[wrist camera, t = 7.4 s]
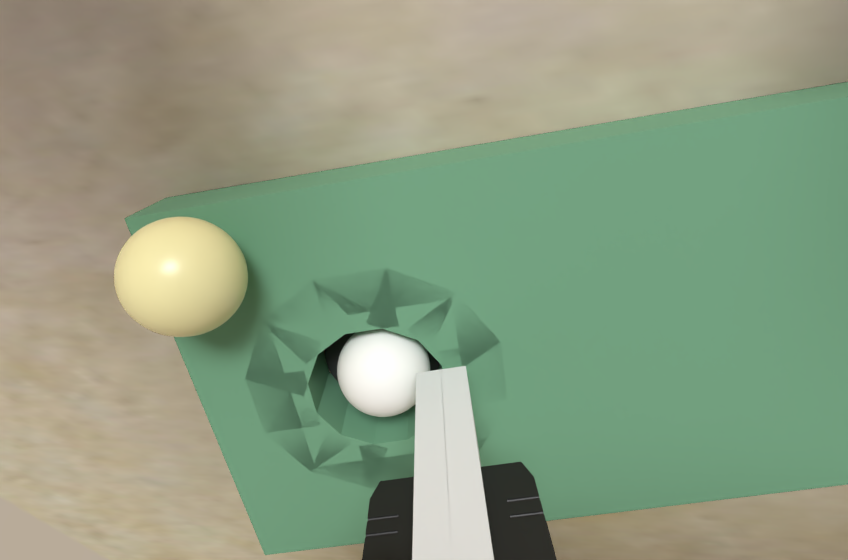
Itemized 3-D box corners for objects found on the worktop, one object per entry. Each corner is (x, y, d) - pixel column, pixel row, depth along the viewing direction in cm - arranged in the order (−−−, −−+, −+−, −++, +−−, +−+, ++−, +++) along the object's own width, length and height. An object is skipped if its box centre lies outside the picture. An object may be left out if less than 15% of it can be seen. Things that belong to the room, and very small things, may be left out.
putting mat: (918, 69, 15) (1009, 69, 13) (843, 432, 20) (896, 478, 18) (166, 197, 16) (124, 218, 14) (281, 503, 22) (265, 554, 20)
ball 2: (426, 311, 18) (358, 345, 19) (382, 303, 16) (306, 343, 17) (457, 393, 17) (384, 423, 19) (418, 400, 15) (334, 437, 16)
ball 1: (136, 212, 14) (61, 250, 11) (243, 195, 14) (195, 227, 11) (176, 311, 15) (118, 368, 12) (275, 296, 15) (240, 351, 12)
